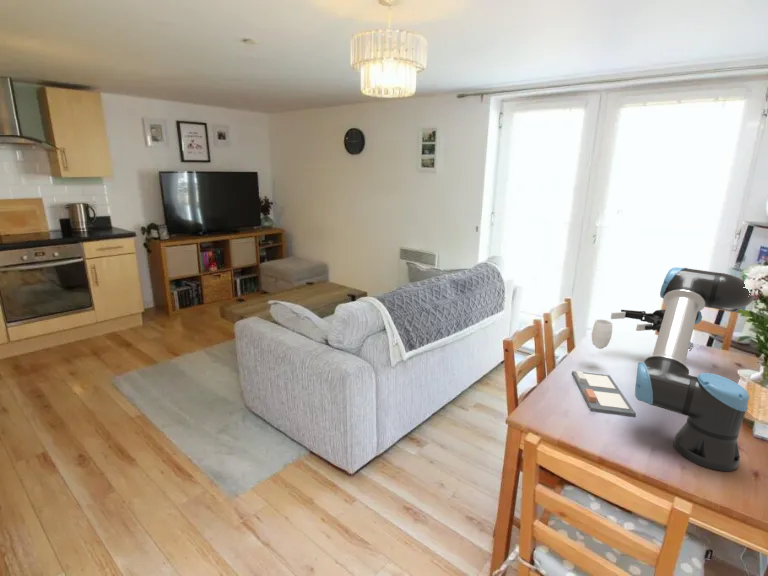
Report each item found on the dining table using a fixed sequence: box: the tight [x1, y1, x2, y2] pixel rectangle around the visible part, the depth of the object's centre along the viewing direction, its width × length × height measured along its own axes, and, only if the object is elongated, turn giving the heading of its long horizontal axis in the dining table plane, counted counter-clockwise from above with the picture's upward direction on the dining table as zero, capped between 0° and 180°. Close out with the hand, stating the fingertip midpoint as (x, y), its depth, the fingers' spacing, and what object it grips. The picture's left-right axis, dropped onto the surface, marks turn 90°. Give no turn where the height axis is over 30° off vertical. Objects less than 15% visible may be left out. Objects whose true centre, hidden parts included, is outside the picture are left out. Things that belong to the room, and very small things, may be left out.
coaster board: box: [571, 370, 637, 418], centre depth 151 cm, size 28×14×3 cm, turn 168°
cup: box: [591, 319, 613, 350], centre depth 169 cm, size 7×7×21 cm
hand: (624, 321), depth 169 cm, fingers open, 13 cm apart
